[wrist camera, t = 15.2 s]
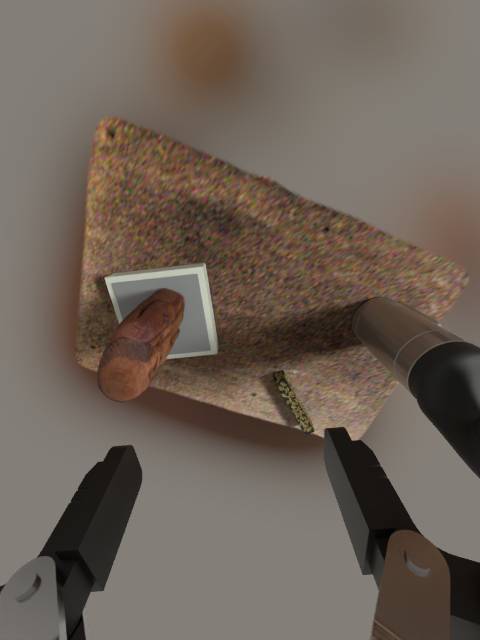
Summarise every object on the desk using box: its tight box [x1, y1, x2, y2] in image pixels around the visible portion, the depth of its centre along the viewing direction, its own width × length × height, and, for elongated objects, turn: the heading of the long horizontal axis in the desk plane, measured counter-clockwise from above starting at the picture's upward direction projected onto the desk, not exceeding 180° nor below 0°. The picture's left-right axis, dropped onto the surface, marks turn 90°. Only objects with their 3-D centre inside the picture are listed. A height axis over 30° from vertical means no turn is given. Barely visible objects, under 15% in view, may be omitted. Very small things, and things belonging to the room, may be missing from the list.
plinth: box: [105, 263, 218, 359], centre depth 45 cm, size 16×16×4 cm
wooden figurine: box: [97, 288, 185, 402], centre depth 35 cm, size 12×6×18 cm, turn 161°
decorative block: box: [273, 370, 314, 435], centre depth 53 cm, size 15×2×4 cm, turn 28°
